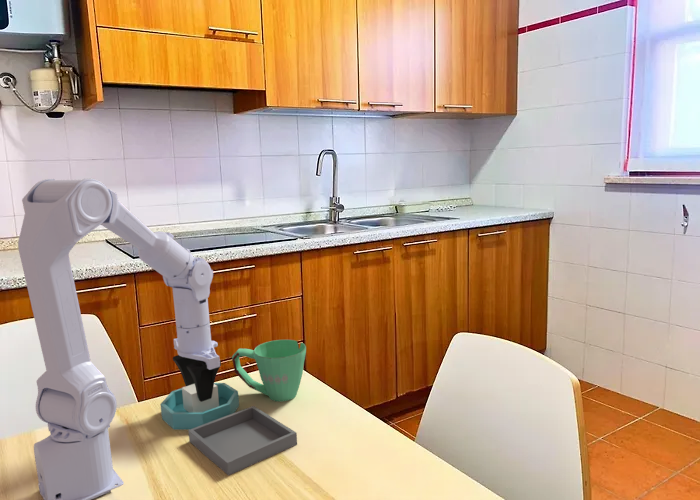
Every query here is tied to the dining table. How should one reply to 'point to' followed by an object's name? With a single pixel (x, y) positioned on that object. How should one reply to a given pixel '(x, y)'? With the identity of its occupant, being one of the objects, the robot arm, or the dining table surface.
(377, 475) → the dining table surface
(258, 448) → the parts tray
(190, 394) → the off-white smooth cube
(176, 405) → the bowl
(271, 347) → the mug
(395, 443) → the dining table surface
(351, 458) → the dining table surface
